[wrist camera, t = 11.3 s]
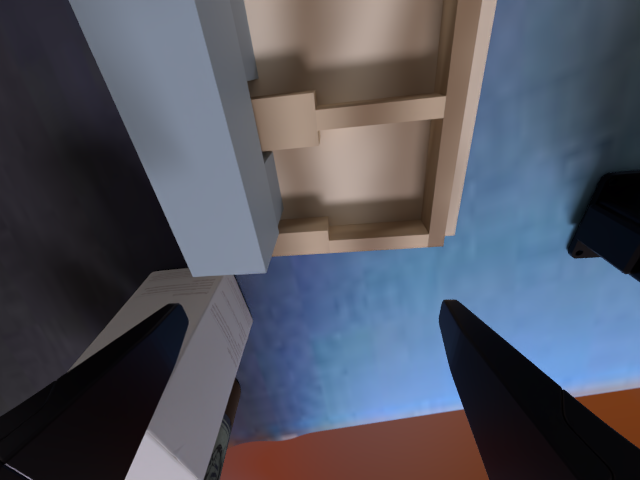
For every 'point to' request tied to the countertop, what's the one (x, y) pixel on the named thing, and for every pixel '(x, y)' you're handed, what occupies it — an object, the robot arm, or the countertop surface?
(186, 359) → the supplement box
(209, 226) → the grey rectangular block
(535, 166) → the countertop surface
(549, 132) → the countertop surface
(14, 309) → the countertop surface
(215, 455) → the olive oil
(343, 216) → the divided wooden tray
